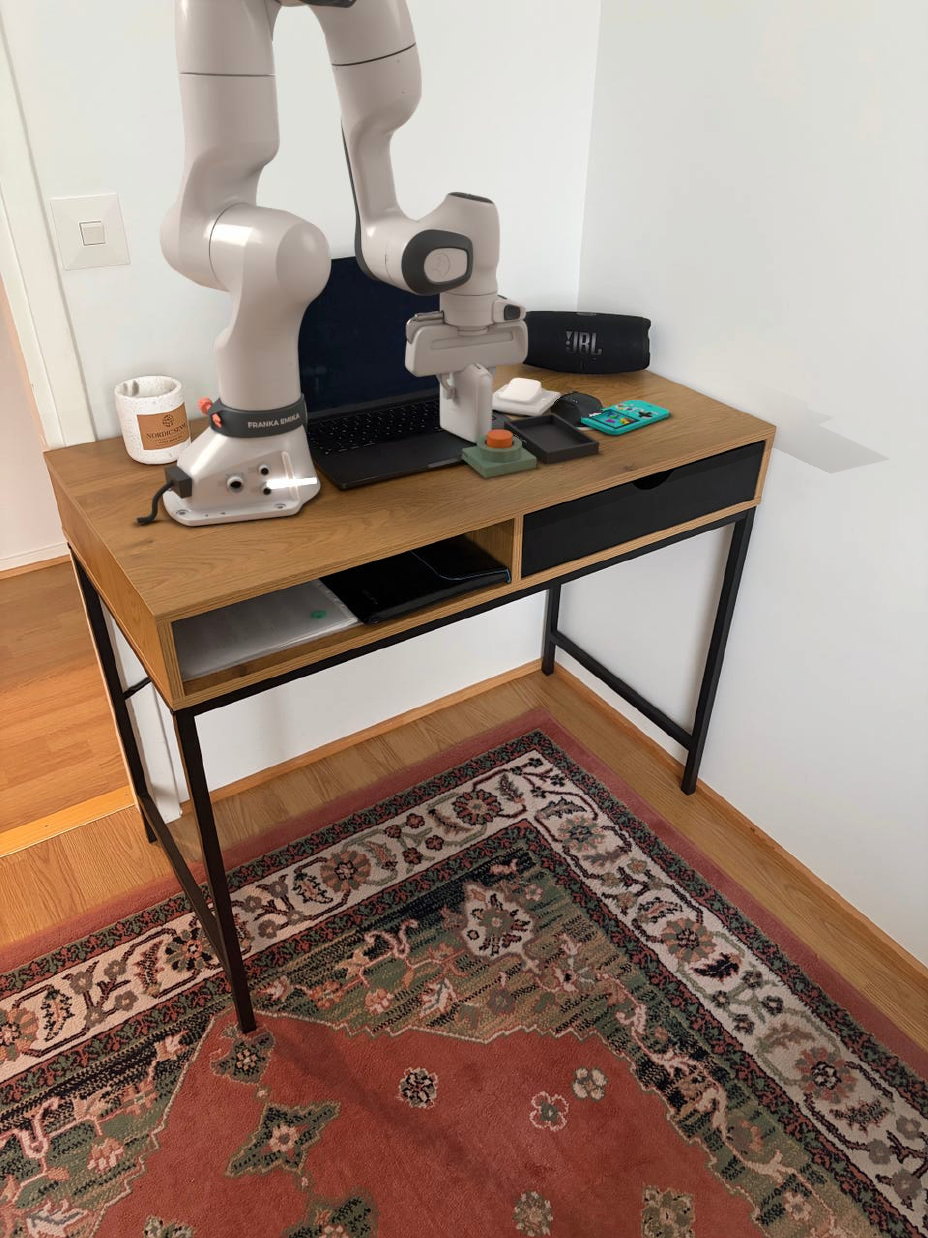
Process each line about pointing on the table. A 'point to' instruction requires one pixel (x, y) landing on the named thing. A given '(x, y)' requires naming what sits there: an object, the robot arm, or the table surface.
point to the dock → (552, 438)
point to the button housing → (498, 458)
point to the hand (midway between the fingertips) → (466, 395)
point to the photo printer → (468, 403)
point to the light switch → (523, 398)
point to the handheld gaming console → (626, 417)
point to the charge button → (499, 439)
